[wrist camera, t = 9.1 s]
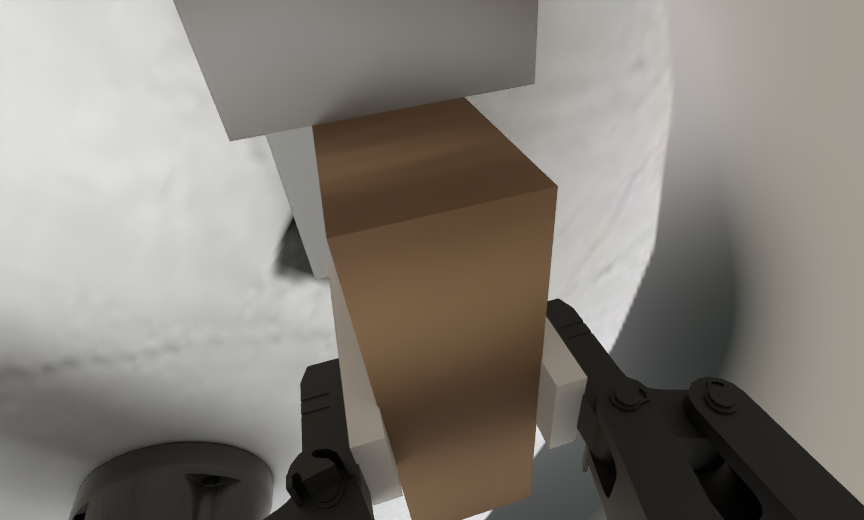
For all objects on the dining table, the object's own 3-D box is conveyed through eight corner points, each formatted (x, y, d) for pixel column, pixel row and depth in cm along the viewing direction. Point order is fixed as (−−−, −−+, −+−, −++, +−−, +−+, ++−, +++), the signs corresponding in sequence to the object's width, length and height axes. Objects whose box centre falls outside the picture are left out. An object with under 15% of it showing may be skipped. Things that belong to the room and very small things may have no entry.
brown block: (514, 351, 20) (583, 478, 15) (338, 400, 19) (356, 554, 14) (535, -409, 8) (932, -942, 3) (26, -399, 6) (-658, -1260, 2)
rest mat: (458, 240, 31) (461, 245, 30) (315, 274, 29) (315, 280, 29) (417, -295, 16) (421, -302, 16) (125, -280, 15) (120, -287, 14)
